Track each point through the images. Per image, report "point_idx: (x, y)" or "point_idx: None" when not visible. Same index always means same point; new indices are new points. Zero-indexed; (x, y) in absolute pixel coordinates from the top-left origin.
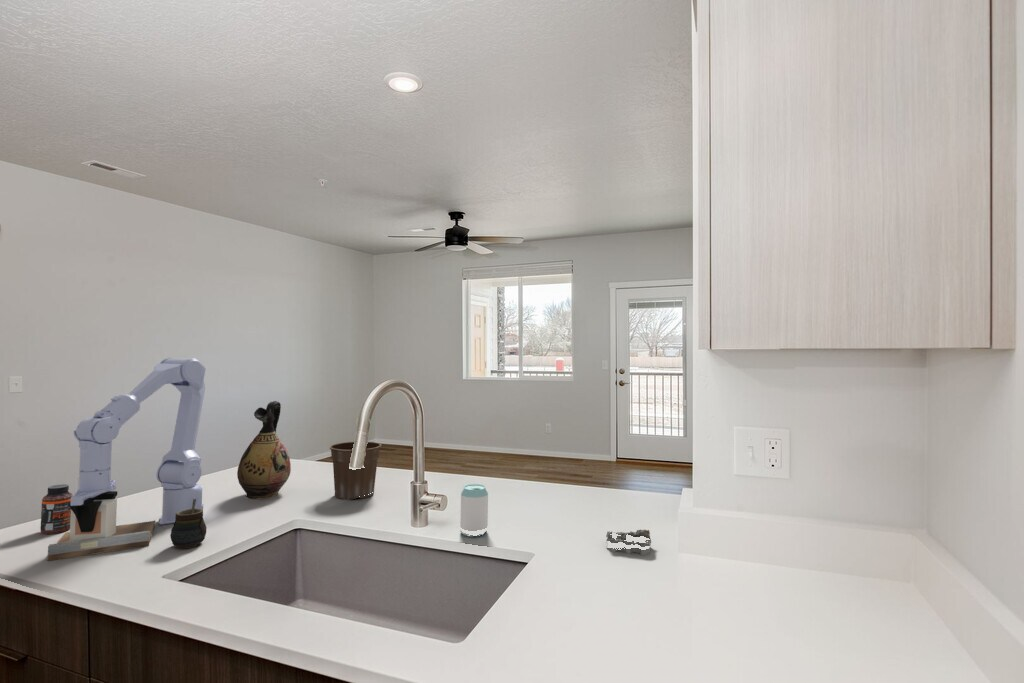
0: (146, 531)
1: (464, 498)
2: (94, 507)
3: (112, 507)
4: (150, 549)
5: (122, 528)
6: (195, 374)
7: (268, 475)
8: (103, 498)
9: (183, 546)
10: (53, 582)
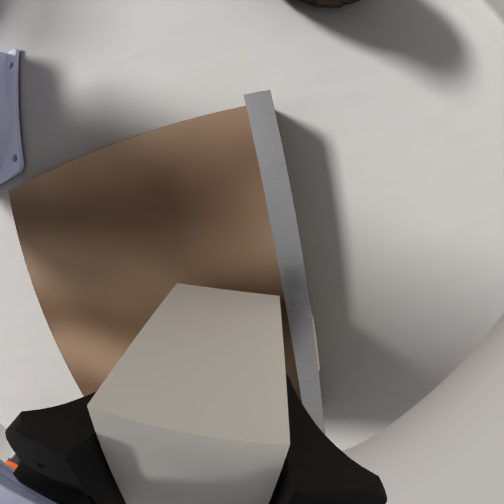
0: (254, 107)
1: None
2: (373, 473)
3: (180, 386)
4: (325, 88)
5: (67, 284)
6: None
7: None
8: (101, 473)
9: None
10: (498, 312)
